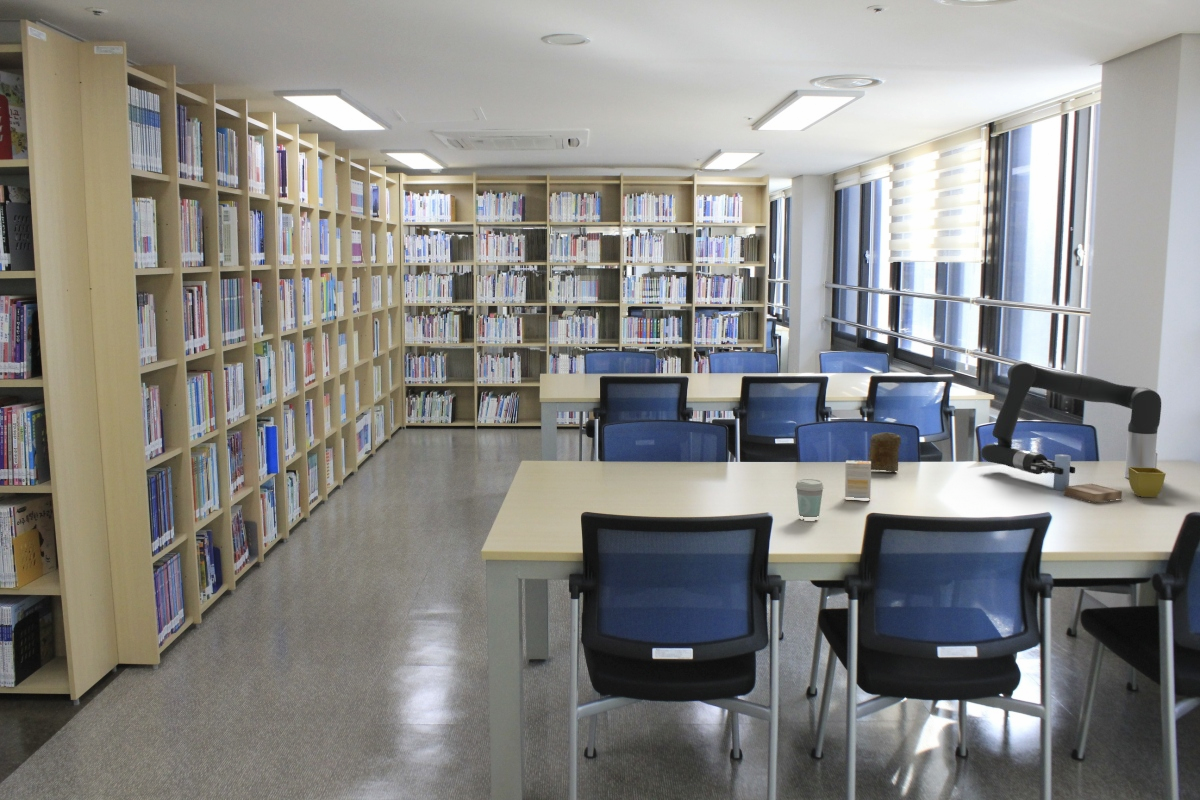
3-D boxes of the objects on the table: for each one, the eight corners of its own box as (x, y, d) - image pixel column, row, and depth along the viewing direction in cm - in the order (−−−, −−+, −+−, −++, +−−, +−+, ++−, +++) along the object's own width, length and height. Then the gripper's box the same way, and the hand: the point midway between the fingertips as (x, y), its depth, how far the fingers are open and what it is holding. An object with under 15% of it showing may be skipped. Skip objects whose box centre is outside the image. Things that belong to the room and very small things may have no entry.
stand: (1090, 492, 313) (1091, 483, 313) (1121, 499, 302) (1121, 491, 301) (1064, 495, 309) (1064, 486, 308) (1094, 503, 298) (1095, 494, 297)
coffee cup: (791, 516, 286) (792, 478, 284) (817, 515, 287) (818, 478, 285) (799, 523, 277) (800, 485, 276) (826, 522, 278) (827, 484, 277)
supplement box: (870, 498, 307) (871, 460, 305) (869, 502, 302) (871, 463, 301) (845, 497, 310) (846, 459, 308) (844, 500, 305) (845, 462, 303)
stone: (865, 472, 348) (866, 433, 346) (872, 467, 356) (873, 430, 354) (895, 475, 342) (896, 436, 340) (901, 470, 350) (902, 432, 348)
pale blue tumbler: (1060, 487, 321) (1062, 453, 319) (1071, 490, 316) (1073, 456, 314) (1050, 488, 319) (1052, 454, 317) (1061, 491, 314) (1063, 457, 313)
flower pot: (1164, 499, 302) (1166, 473, 301) (1135, 498, 304) (1137, 472, 302) (1153, 493, 310) (1155, 467, 309) (1126, 492, 312) (1127, 466, 311)
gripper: (1014, 453, 327) (1053, 462, 311) (1045, 450, 332) (1084, 458, 316) (1013, 473, 328) (1052, 483, 312) (1044, 470, 333) (1083, 479, 317)
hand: (1068, 471), depth 314 cm, fingers closed on pale blue tumbler, 4 cm apart
